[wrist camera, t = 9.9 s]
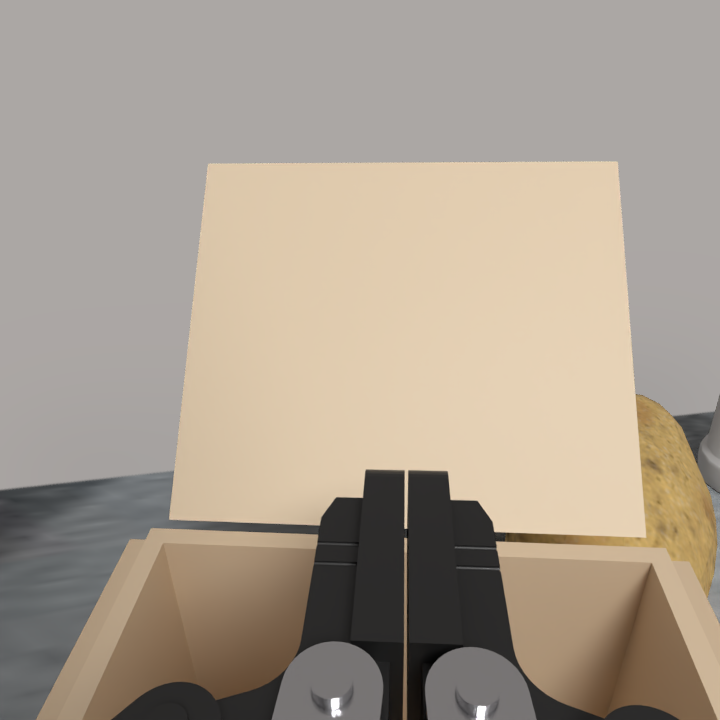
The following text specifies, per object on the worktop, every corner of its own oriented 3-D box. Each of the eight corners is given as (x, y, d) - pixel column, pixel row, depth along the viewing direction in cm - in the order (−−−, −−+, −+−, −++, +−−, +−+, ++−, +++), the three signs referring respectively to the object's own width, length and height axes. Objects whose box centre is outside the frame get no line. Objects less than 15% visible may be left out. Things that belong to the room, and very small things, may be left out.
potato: (438, 605, 32) (447, 456, 27) (585, 472, 40) (612, 341, 36) (630, 753, 26) (685, 592, 21) (757, 558, 34) (816, 413, 29)
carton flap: (208, 163, 24) (212, 170, 24) (169, 519, 20) (174, 519, 21) (617, 161, 23) (613, 169, 23) (646, 537, 19) (640, 537, 20)
